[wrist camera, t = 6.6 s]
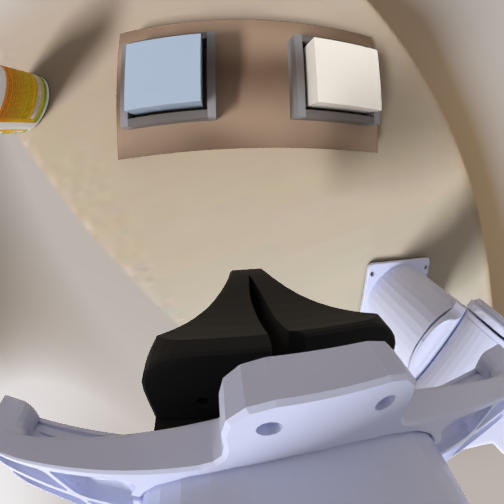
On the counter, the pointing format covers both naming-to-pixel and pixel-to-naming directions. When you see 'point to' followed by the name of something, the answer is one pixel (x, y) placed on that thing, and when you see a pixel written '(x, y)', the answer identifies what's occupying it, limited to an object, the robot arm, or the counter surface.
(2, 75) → the supplement bottle
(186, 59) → the blue key
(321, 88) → the cream key
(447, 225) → the counter surface
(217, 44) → the key board
